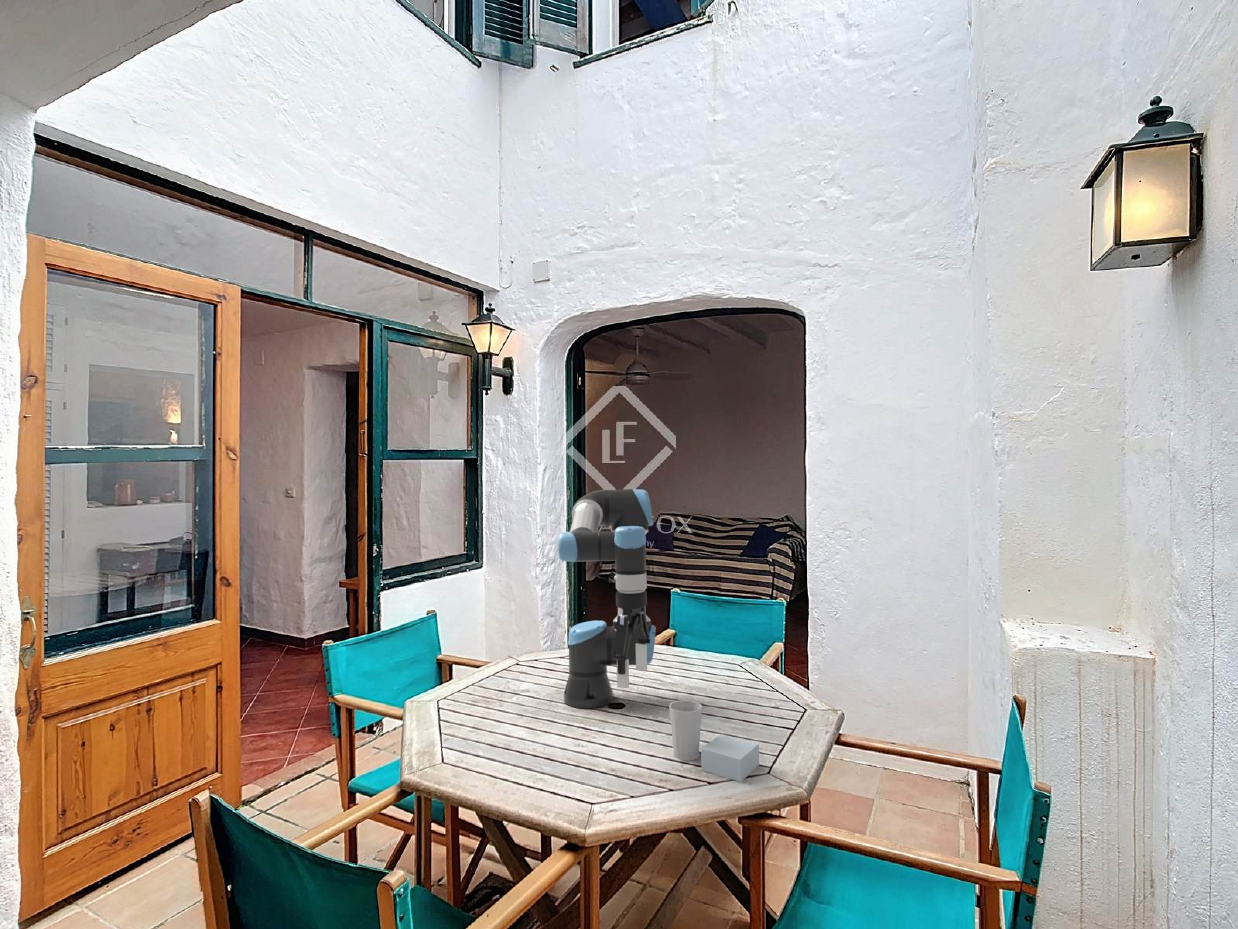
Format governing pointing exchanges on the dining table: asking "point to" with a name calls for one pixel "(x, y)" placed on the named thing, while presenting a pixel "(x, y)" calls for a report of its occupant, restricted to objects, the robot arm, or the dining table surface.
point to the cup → (685, 729)
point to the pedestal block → (730, 757)
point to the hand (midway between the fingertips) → (632, 678)
